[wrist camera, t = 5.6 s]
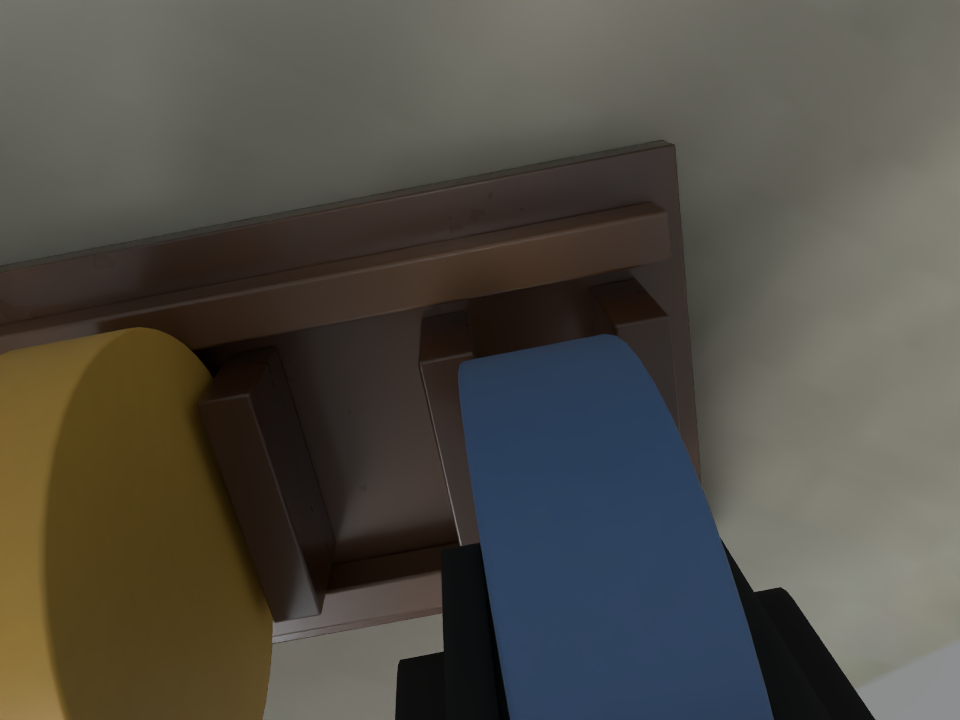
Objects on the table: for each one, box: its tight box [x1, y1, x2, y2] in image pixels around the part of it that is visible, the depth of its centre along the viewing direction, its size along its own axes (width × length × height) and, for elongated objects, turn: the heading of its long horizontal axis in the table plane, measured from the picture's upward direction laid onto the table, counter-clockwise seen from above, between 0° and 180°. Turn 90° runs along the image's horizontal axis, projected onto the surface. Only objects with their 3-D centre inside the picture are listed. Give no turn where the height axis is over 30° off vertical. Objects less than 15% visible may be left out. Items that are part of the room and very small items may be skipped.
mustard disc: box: [0, 327, 273, 720], centre depth 13 cm, size 2×8×8 cm, turn 10°
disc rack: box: [0, 140, 702, 644], centre depth 16 cm, size 22×10×3 cm, turn 100°
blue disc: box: [458, 334, 774, 720], centre depth 10 cm, size 2×8×8 cm, turn 10°
